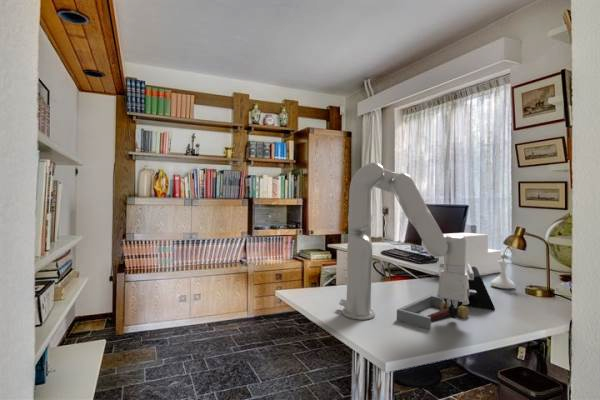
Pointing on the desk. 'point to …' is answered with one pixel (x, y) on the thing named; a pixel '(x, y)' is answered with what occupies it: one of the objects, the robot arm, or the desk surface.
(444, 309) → the gavel
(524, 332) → the desk surface
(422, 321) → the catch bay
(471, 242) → the white stepped block
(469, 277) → the device stand
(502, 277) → the flower in vase
